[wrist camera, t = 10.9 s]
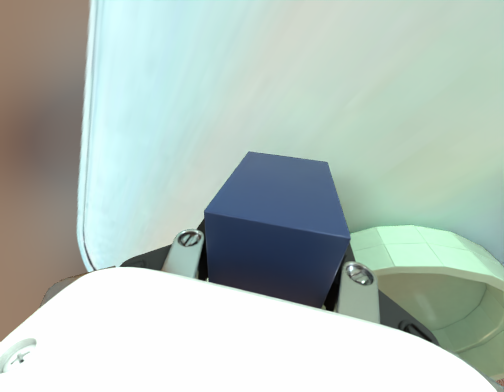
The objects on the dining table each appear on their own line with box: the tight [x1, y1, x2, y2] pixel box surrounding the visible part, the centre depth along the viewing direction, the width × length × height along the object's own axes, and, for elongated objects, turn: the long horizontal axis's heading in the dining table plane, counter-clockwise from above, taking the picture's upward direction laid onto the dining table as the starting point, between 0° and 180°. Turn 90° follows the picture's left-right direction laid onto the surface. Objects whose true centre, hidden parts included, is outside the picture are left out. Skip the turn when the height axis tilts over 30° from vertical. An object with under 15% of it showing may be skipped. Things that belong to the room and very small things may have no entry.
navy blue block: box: [204, 152, 351, 309], centre depth 11 cm, size 5×7×6 cm, turn 176°
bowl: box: [321, 225, 504, 381], centre depth 18 cm, size 16×16×4 cm
